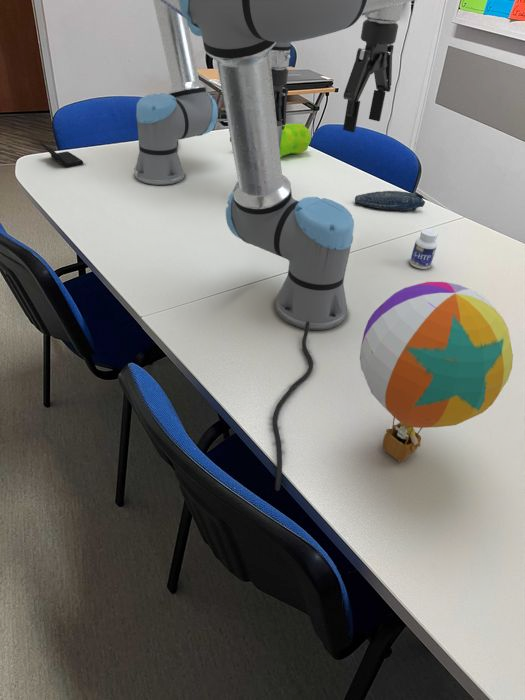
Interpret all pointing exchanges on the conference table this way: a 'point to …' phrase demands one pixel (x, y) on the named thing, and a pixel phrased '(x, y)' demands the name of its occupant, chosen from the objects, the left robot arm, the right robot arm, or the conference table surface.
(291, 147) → the decorative tree
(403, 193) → the fish model
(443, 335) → the toy
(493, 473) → the conference table surface
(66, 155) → the black handled piece
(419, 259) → the pill bottle
